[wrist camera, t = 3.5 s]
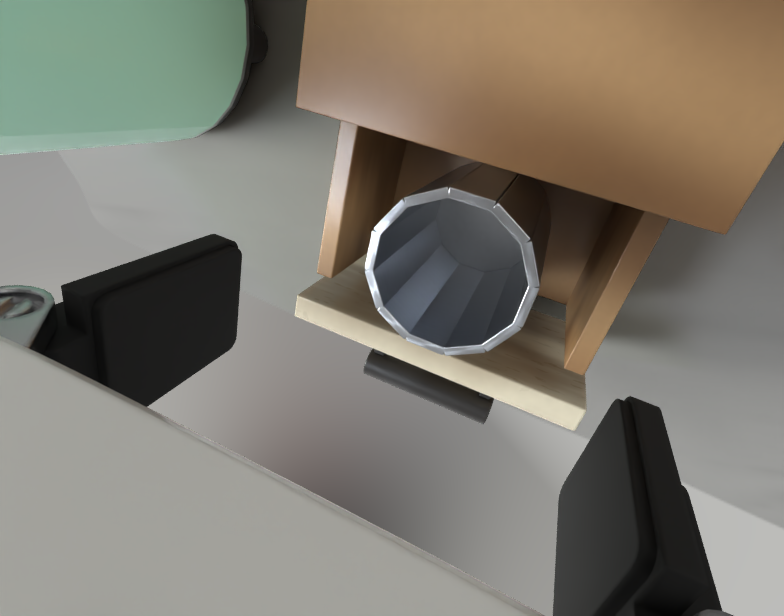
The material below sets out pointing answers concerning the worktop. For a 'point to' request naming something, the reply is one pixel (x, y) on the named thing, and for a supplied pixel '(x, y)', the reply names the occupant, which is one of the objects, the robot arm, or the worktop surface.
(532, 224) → the measuring cup
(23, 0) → the juicer
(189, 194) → the worktop surface
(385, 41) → the cabinet
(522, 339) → the drawer
